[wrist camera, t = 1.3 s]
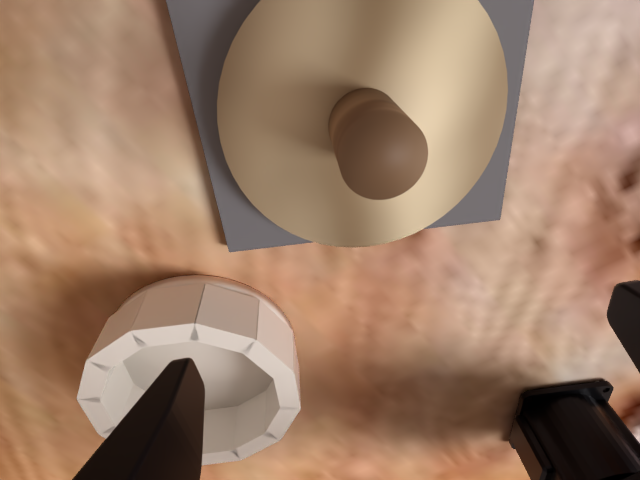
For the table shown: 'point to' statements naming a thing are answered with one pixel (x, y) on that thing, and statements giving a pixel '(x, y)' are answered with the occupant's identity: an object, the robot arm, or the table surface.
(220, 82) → the lid
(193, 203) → the table surface
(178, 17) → the mat
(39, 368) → the table surface
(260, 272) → the table surface
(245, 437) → the bowl
